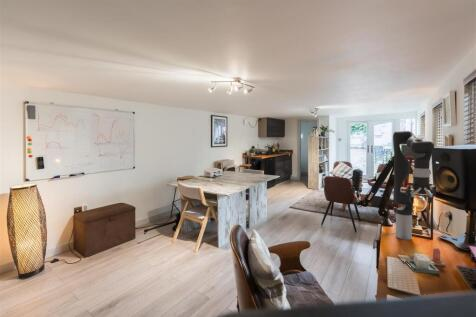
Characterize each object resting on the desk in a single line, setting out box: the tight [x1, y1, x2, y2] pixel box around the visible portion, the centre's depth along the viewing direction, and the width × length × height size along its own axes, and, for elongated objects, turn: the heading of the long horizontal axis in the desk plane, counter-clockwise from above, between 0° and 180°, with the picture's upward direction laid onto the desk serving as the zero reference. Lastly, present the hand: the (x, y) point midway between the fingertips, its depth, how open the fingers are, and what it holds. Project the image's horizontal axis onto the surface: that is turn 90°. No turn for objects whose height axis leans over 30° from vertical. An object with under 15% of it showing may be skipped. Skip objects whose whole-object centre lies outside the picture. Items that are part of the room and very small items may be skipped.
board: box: [397, 254, 446, 267], centre depth 130 cm, size 7×20×1 cm, turn 75°
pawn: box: [431, 247, 442, 263], centre depth 128 cm, size 4×4×7 cm
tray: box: [406, 260, 440, 275], centre depth 123 cm, size 9×11×2 cm
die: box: [413, 252, 430, 269], centre depth 123 cm, size 5×5×5 cm
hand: (420, 202), depth 135 cm, fingers open, 8 cm apart
